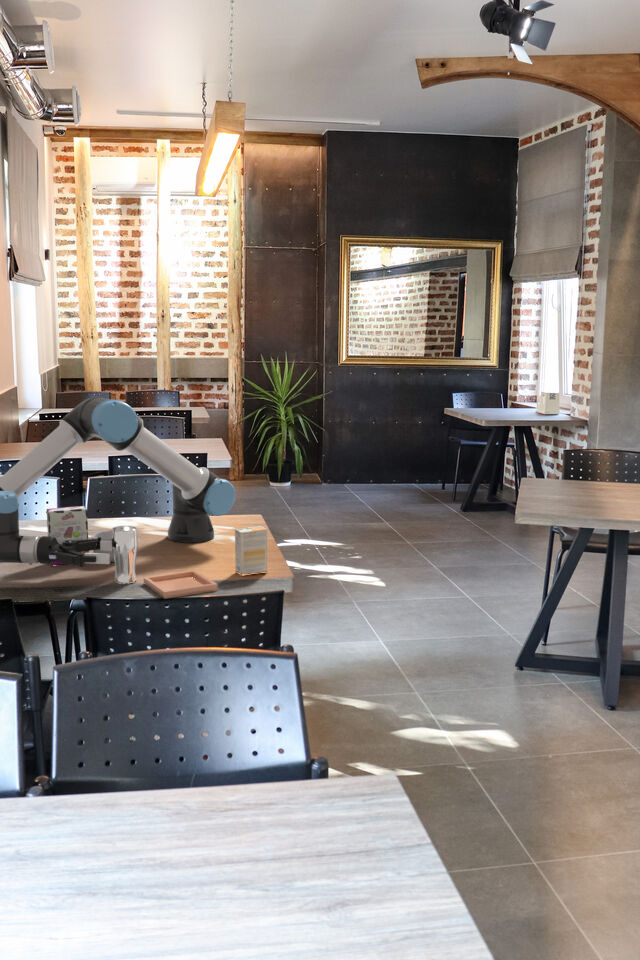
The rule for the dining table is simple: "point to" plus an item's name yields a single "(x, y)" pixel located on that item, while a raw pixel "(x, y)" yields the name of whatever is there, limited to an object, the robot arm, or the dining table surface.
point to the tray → (180, 584)
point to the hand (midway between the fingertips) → (116, 552)
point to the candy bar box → (67, 525)
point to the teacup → (105, 537)
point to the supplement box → (251, 550)
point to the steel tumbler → (124, 553)
